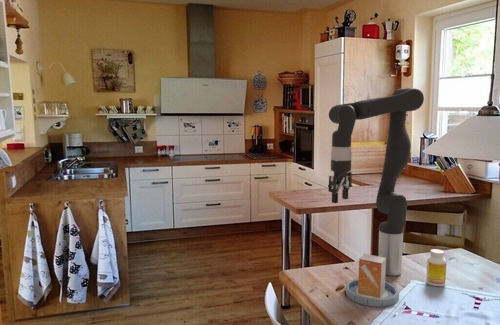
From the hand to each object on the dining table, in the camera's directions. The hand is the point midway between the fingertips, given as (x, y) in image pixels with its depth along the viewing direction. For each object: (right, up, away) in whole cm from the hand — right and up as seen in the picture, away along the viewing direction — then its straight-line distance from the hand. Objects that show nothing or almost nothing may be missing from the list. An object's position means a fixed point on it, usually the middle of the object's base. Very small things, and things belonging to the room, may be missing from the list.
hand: (340, 200), depth 155 cm
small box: (+10, -33, -8) cm, 35 cm away
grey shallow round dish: (+10, -33, -8) cm, 35 cm away
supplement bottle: (+37, -32, +2) cm, 49 cm away
